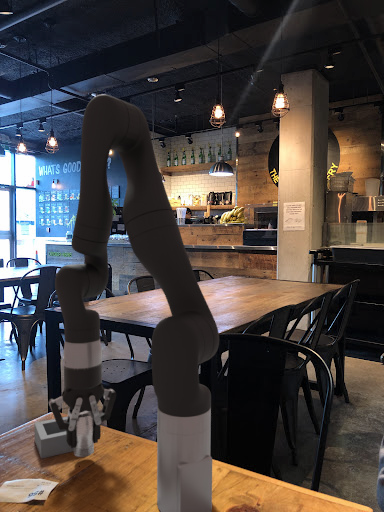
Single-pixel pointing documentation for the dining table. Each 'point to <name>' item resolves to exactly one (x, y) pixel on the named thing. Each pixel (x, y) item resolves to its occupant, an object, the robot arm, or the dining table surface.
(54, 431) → the box
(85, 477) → the dining table surface
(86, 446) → the peg
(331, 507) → the dining table surface
